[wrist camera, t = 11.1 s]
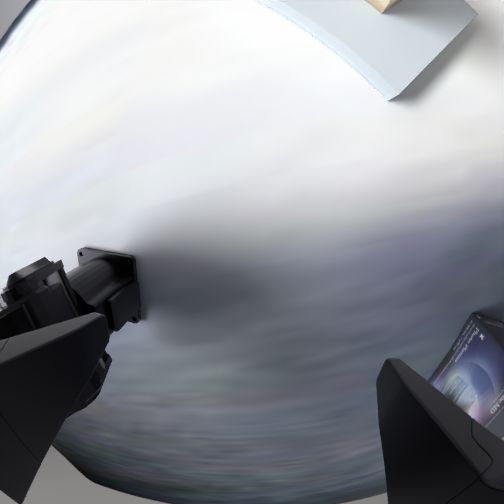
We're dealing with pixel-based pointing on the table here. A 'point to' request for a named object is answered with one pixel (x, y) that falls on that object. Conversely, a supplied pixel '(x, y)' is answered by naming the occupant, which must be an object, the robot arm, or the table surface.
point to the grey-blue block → (380, 34)
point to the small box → (476, 372)
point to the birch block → (383, 4)
